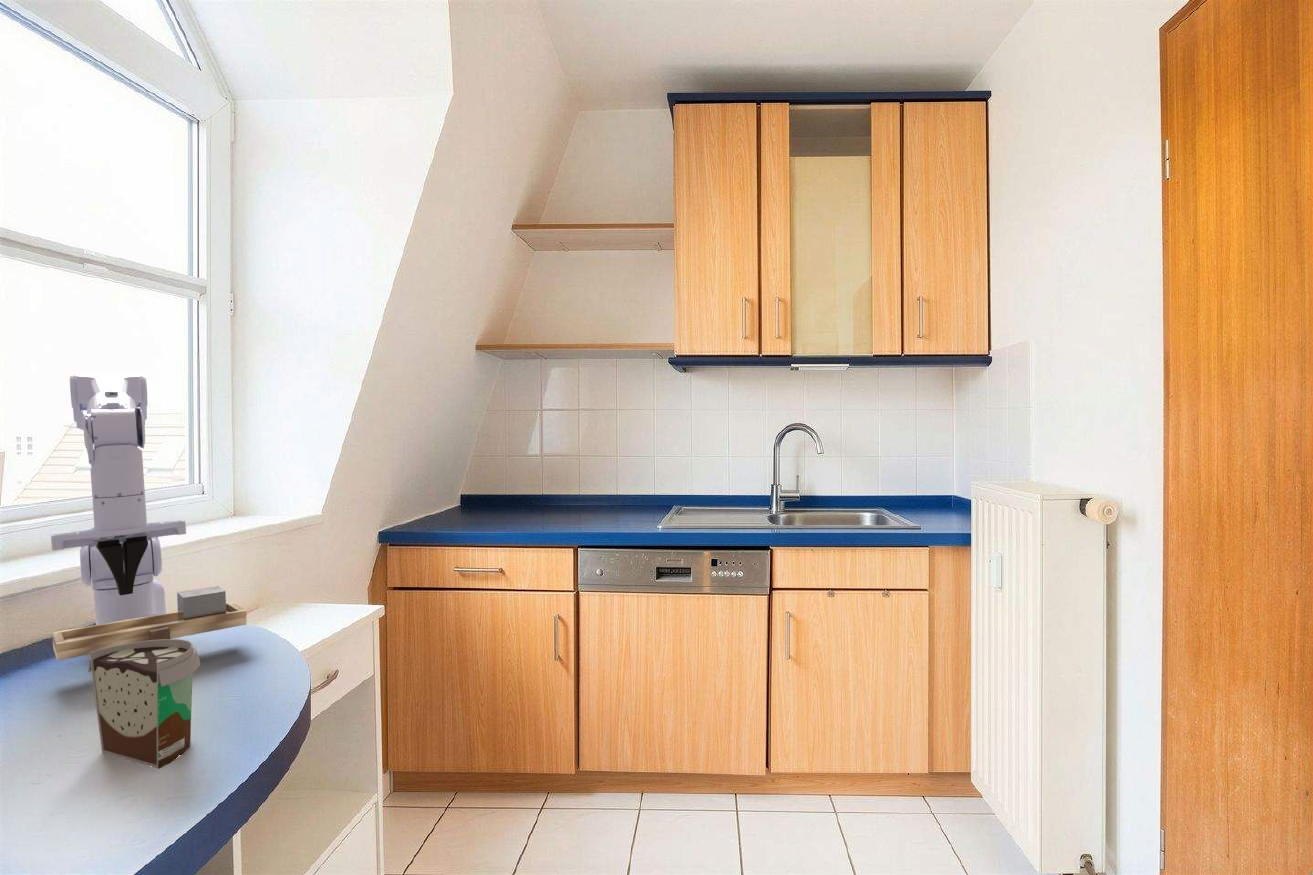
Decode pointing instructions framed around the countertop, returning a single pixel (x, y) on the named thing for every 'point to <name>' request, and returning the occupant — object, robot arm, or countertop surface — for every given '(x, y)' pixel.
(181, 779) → the countertop surface
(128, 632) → the beam
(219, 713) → the countertop surface
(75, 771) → the countertop surface
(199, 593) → the block
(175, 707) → the food container
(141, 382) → the robot arm
